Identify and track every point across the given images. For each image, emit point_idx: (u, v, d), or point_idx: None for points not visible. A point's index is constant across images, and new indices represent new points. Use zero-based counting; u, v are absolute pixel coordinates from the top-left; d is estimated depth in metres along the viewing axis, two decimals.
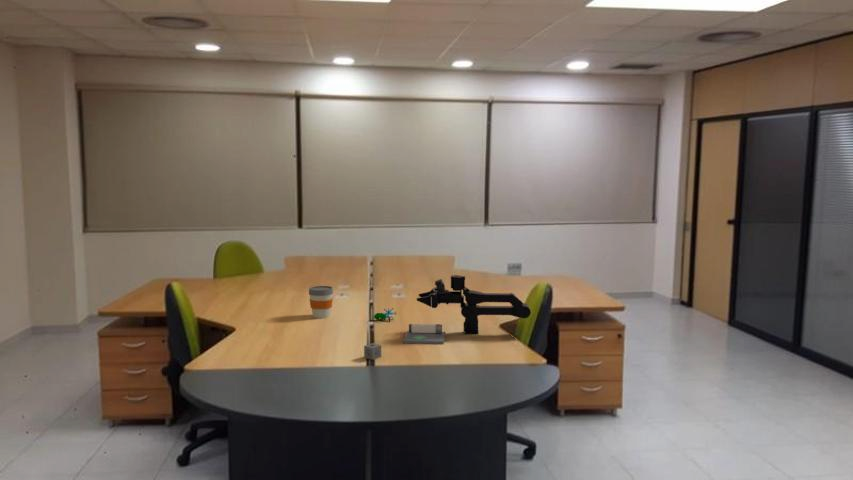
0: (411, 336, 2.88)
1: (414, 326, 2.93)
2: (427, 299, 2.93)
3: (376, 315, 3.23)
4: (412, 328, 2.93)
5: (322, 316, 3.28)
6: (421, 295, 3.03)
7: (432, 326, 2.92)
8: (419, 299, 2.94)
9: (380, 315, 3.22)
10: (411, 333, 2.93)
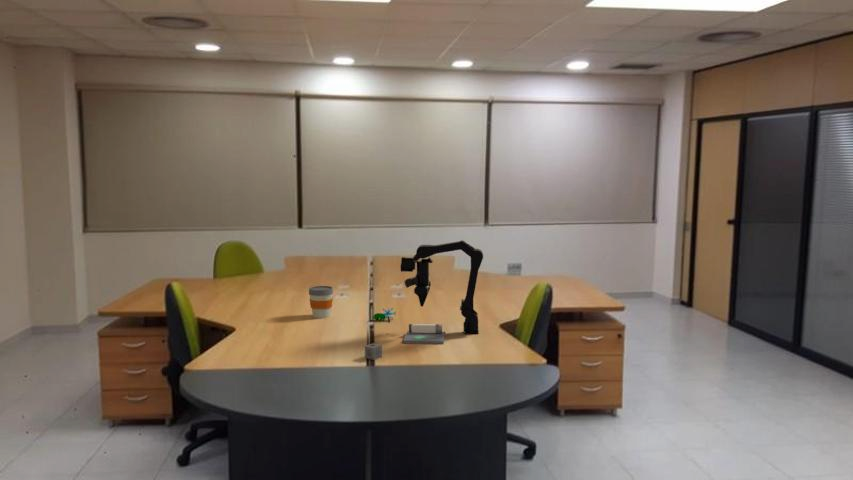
0: (411, 336, 2.88)
1: (414, 326, 2.93)
2: (421, 296, 2.93)
3: (375, 315, 3.22)
4: (412, 328, 2.93)
5: (322, 316, 3.28)
6: None
7: (432, 326, 2.92)
8: (421, 303, 2.94)
9: (379, 315, 3.22)
10: (411, 333, 2.93)
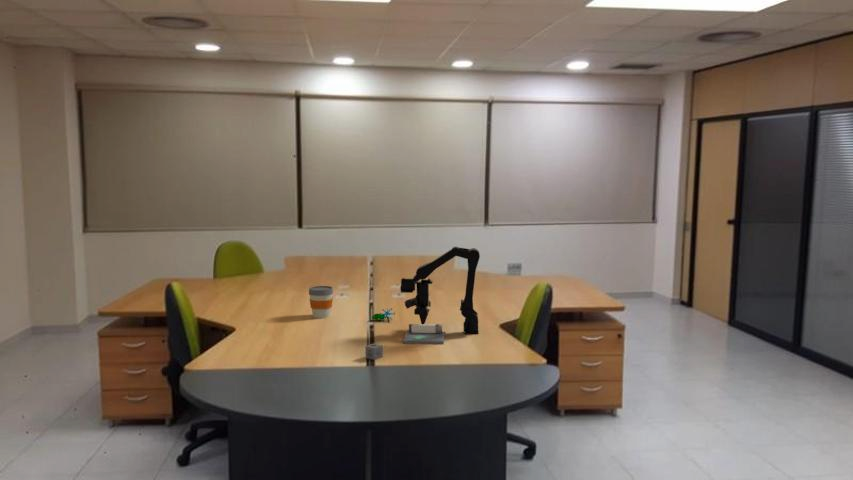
0: (411, 336, 2.88)
1: (414, 326, 2.93)
2: (422, 315, 2.98)
3: (375, 316, 3.22)
4: (412, 328, 2.93)
5: (322, 316, 3.28)
6: None
7: (432, 326, 2.92)
8: (422, 322, 2.99)
9: (379, 316, 3.21)
10: (411, 333, 2.93)
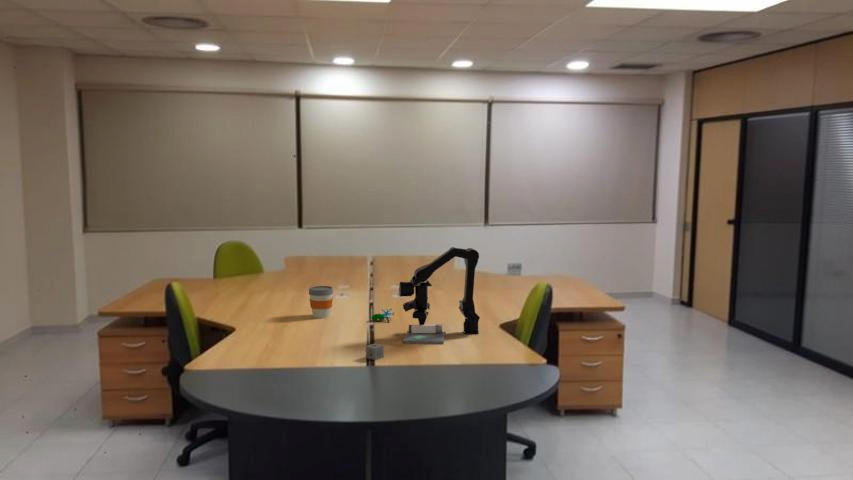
0: (411, 336, 2.88)
1: (414, 327, 2.92)
2: None
3: (374, 316, 3.21)
4: (412, 329, 2.92)
5: (322, 316, 3.28)
6: None
7: (432, 326, 2.92)
8: None
9: (378, 316, 3.21)
10: (411, 333, 2.93)
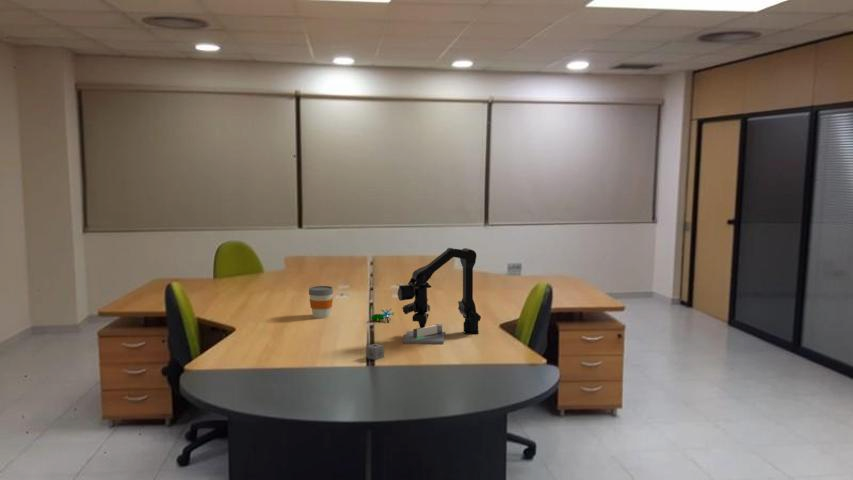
0: (411, 336, 2.88)
1: (419, 330, 2.86)
2: (421, 320, 2.88)
3: (374, 316, 3.20)
4: (417, 332, 2.85)
5: (322, 316, 3.28)
6: None
7: (434, 327, 2.90)
8: None
9: (378, 316, 3.20)
10: (411, 333, 2.93)
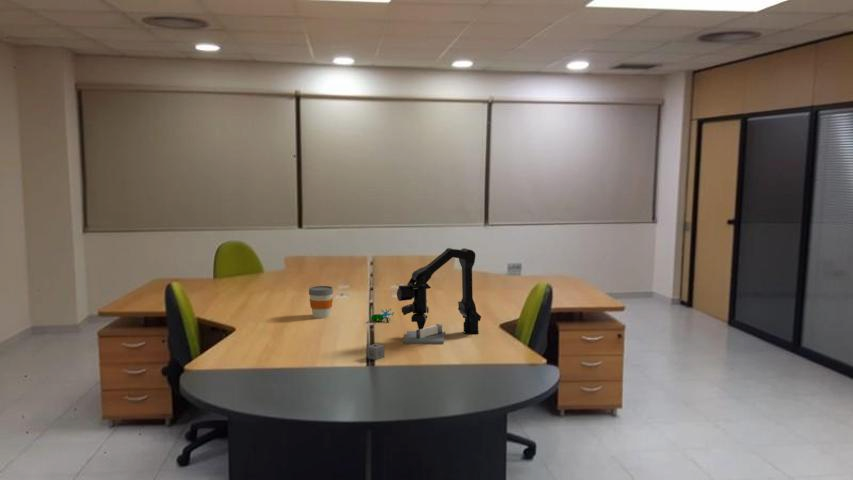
0: (411, 336, 2.88)
1: (422, 331, 2.84)
2: (419, 321, 2.86)
3: (373, 316, 3.20)
4: (420, 333, 2.84)
5: (322, 316, 3.28)
6: None
7: (435, 327, 2.90)
8: None
9: (377, 316, 3.20)
10: (411, 333, 2.93)
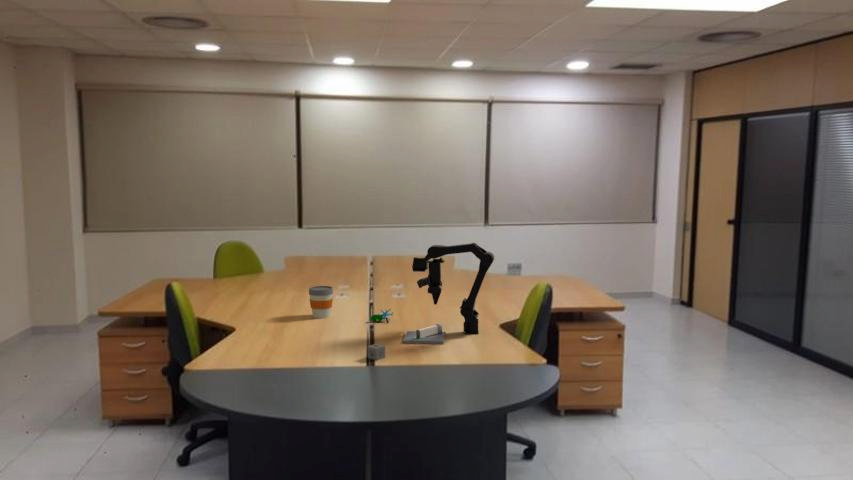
0: (411, 336, 2.88)
1: (422, 331, 2.84)
2: (434, 294, 2.99)
3: (373, 317, 3.19)
4: (420, 333, 2.84)
5: (322, 316, 3.28)
6: None
7: (435, 327, 2.90)
8: (435, 301, 3.00)
9: (377, 316, 3.19)
10: (411, 333, 2.93)
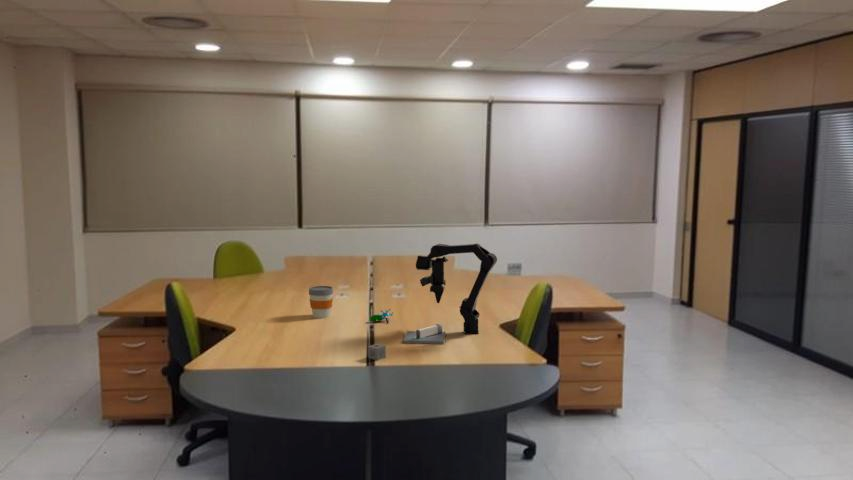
0: (411, 336, 2.88)
1: (422, 331, 2.84)
2: (437, 293, 3.01)
3: (372, 317, 3.19)
4: (420, 333, 2.84)
5: (322, 316, 3.28)
6: None
7: (435, 327, 2.90)
8: (437, 300, 3.02)
9: (377, 317, 3.19)
10: (411, 333, 2.93)
